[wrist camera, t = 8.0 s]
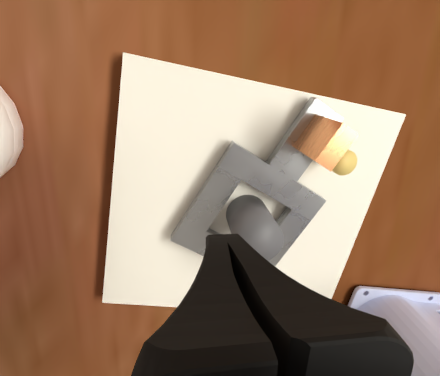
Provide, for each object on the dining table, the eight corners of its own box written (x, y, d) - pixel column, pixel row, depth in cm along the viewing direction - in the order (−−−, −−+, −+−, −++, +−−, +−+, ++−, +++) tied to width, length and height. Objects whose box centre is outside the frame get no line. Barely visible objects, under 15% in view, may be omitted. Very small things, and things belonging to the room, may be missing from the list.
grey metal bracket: (259, 276, 24) (275, 317, 20) (170, 234, 21) (169, 271, 17) (366, 138, 21) (410, 154, 17) (276, 70, 18) (303, 70, 14)
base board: (396, 112, 22) (455, 123, 17) (319, 307, 28) (348, 355, 23) (125, 53, 18) (108, 47, 13) (105, 293, 24) (87, 346, 19)
